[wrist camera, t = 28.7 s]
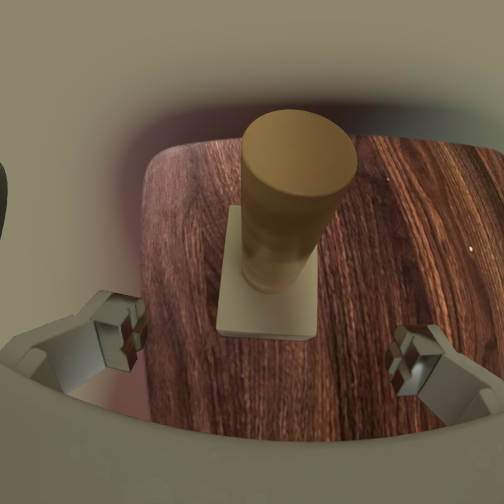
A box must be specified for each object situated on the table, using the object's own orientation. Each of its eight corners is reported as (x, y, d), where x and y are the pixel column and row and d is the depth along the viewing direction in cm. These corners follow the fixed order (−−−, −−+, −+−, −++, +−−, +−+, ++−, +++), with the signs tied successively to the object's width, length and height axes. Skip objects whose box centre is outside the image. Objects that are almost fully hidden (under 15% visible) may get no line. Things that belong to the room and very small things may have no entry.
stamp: (220, 335, 17) (174, 272, 6) (231, 228, 19) (221, 68, 8) (304, 341, 17) (412, 289, 6) (306, 234, 19) (368, 86, 8)
